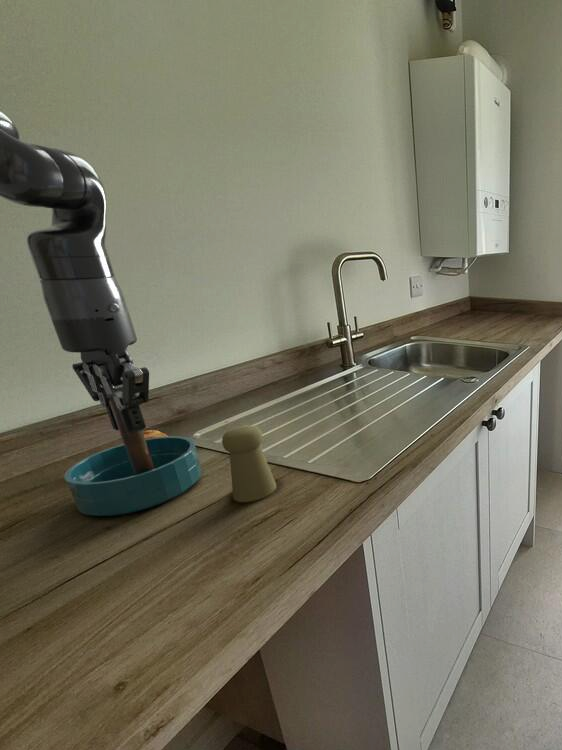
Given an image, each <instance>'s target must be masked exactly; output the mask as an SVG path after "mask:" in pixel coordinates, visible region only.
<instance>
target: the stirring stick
mask: <svg viewBox="0 0 562 750" xmlns="http://www.w3.org/2000/svg"><path fill="white" fill-rule="evenodd" d="M122 398H123V396H122ZM109 403H110V406H111V409H112V412H113V415H114V418H115V420H116V423H117V426H118V429H119V430H118V432H119V434H120V438H121V440H122V444H124V446H125V449H126V452H127V455H128V458H129V461H130V463H131V466H132V469H133V472H134V475H138V474H141V473H144V472H147V471H150V470H153V469H155V468H154V465H153V462H152V459H151V456H150V453H149V450H148V447H147V443H146V440H145V437H144V434H143V431H144V430H141V431H138V432H135V433H127V432H126V431H125V429H124V426H123V423H122V420H121V417H120V414H119V411H118V410H119V409H118V408H117V405H116V403H115V401H114V398H111V399H109Z"/></svg>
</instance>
